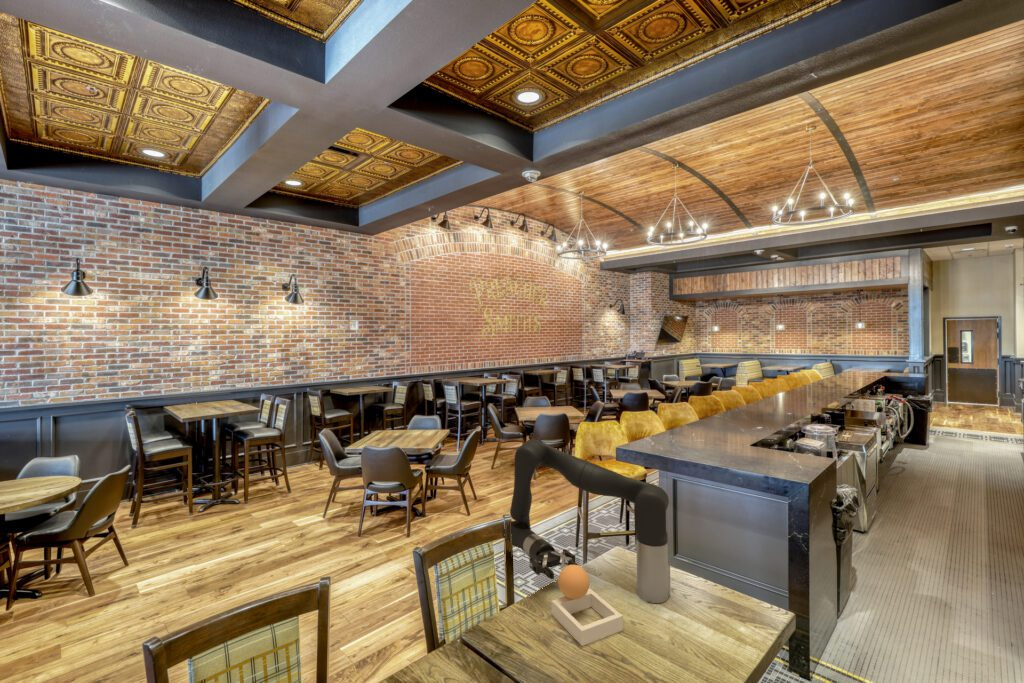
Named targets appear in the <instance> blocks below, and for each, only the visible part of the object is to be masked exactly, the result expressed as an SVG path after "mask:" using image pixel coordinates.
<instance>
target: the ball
mask: <svg viewBox="0 0 1024 683" xmlns="http://www.w3.org/2000/svg"><path fill="white" fill-rule="evenodd" d="M557 580H558V581H557V582H558V587H559V589H560V592H561V593H562V595H564V596H566V597H568V598H570V599H580V598H582V597H583V596H584V595H585V594H586V593H587V591H588V589H589V588H590V578H589V575H588V574H587V572H586V570H585V569H584V568H583V567H582V566H580V565H579V564H578V565H568V566H564V567H562V569H561V571H560V573H559V576H558V579H557Z"/></svg>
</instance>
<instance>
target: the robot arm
mask: <svg viewBox="0 0 1024 683" xmlns="http://www.w3.org/2000/svg"><path fill="white" fill-rule="evenodd" d="M513 460H514V462H513V463H514V467H513V468H514V479H513V480H514V482H513V485H514V486H513V493H512V500H511V504H510V505H511V506H510V510H509V515H510V518H512V520H513V521H512V520H511V521H508V522H509V525H508V524H507V530H506V531H507V539H505V540H504V541H505V542H506V543H507V540H509V542H510V522H511V534H512V545H511V546H512V547H513V546H514V547H515V548H518V549H521V550H522V551H523V552H524V553H525V554H526V556H527V557H528V558H529V562H528V563H529V568H530V569H531V570H532V571H533V572H534V574H535V575H536V576H539V575H544V576H546V577H547V578H549V579H550V580H554V579H555V573H554V570H552V569H551V568H554V567H561V568H565V567H566V566H568V565H578V566H579V564H578V563H577V562H576V559H577V558H576V555H575V554H573V553H572V552H570V551H569V550H567V549H562V552H559V551H556V549H555V548H554V545H552V544H550V542H548V541H547V540H546V539H545V538H543V537H541V536H540V535H538V534H537V533H535V532H534V531H533V530H532V529H531V522H530V521H531V520H530V519H531V518H530V511H531V507H532V502H533V494H532V487H531V483H532V479H533V476H534V474H535V471H536V469H537V468H539V467H540V466H541V465H542V466H545V467H548V468H551V469H553V470H555V471H557V472H558V473H560V474H561V475H562V476H563V478H565V480H567V482H569V484H570V485H573V487H575V488H578V489H580V490H582V491H585V492H587V493H589V494H593V495H597V496H603V497H604V496H605V497H612V498H613V497H614V498H619V499H623V500H626V501H627V502H628V501H629V502H630V503H633V504H634V530H635V533H636V534H635V535H636V536H635V537H636V545H635V546H636V595H637V596H638V597H639V598H640V599H641V600H642V601H645V602H648V603H650V604H661V603H665V602H666V601H667V600H668V598H669V597H670V596H671V566H670V564H669V563H668V562H669V561H668V560H669V557H668V555H669V554H668V553H669V551H668V542H669V541H668V532H667V510H668V507H669V502H670V500H669V496H668V494H667V492H666V491H665V490H664V489H663V487H661V486H658V485H656V484H654V483H650V482H646V481H641V480H639V479H635V478H631V477H629V476H625V475H623V474H621V473H618V472H615V471H613V470H610V469H608V468H605V467H603V466H600V465H598V464H596V463H593V462H591V461H588V460H584V459H582V458H579V457H577V456H574V455H572V454H569V453H566V452H564V451H561V450H559V449H557V448H555V447H553V446H552V445H549V444H548V443H545V442H543V441H541V440H539V439H536V438H535V439H534V438H533V439H532V438H531V439H528V440H526V441H525V442H524V443H523V444H522V445H520V446H519V447H518V448H517V449H516V451H515V453H514V459H513ZM504 534H505V529H504V526H502V528H501V535H502V538H503V539H504V538H505V536H504Z"/></svg>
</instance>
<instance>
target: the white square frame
mask: <svg viewBox="0 0 1024 683" xmlns="http://www.w3.org/2000/svg"><path fill="white" fill-rule="evenodd" d="M589 608H592V609H593V610H594V611H595V612H596V613H598V614H599V615H600V616H601V617H602V618H601V619H599V620H595V621H593V622H590V623H588V624H585V625H582V624H581V623H580V622H579V621H578V620H577V619H576V618H575V617H574V616H573V614H575V613H578V612H582V611H584V610H587V609H589ZM551 615H552V616H553V617H554V618H555V620H556V621H558V623H559V624H560V625H561V626H562V627H563V628H564V629H565V630H566V631H567V632H568V633H569V634H570V635H571V636H572V638H574V639H575V641H576V642H577V643H578V644H579V645H581V647H584V646H586V645H589V644H592V643H594V642H597V641H600V640H601V639H604V638H608V637H610V636H611V635H615V634H618V633H620V632H622V631H624V624H623V623H624V622H623V621H624V618H623V615H622V614H621V613H620V612H619V611H617V609H615V608H614V607H613V606H611V605H610V604H609V603H608V602H607V601H606V600H604V599H603V598H602V597H601V596H599V594H597V593H596V592H595V591H593V590H592V589H591V588H590V587H589V589H588V591H587V593H586V594H585V595H584V596H583V597H582V598H580V599H570V598H568V597H566V596H565V595H564V596H562V597H558V598H556V599H553V600H551Z"/></svg>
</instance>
